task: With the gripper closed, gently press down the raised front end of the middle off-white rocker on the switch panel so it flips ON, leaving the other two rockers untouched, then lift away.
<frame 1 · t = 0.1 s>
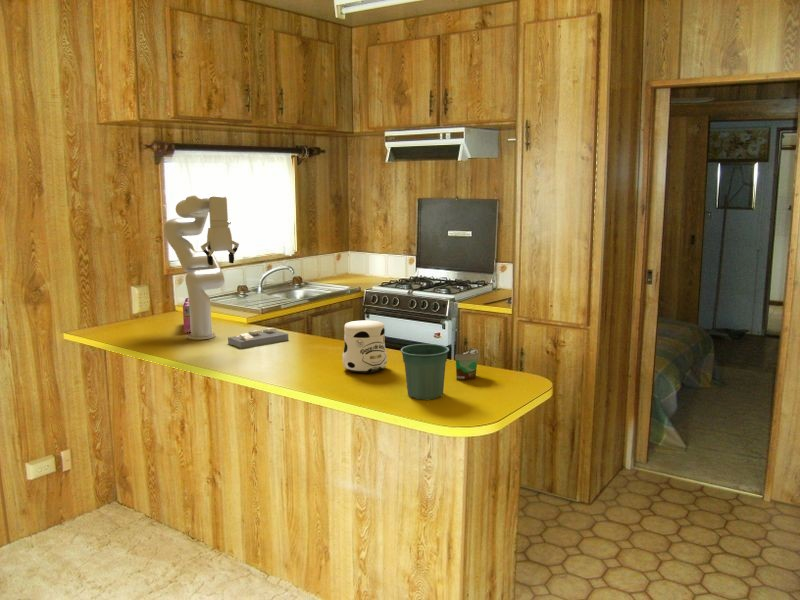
hand: (221, 264, 309), 37 cm above the countertop, tool pointing down, fingers open, 9 cm apart
gum box: (193, 328, 354), on the countertop
rocker far: (269, 329, 329), point 4 cm above the countertop, hinge at -10.0°
rocker near: (246, 336, 315), point 4 cm above the countertop, hinge at 10.0°
switch panel: (258, 342, 322), on the countertop
rocker mid: (255, 332, 324), point 4 cm above the countertop, hinge at -10.0°
flower pot: (424, 395, 243), on the countertop
food container: (469, 378, 263), on the countertop
milk container: (365, 370, 275), on the countertop
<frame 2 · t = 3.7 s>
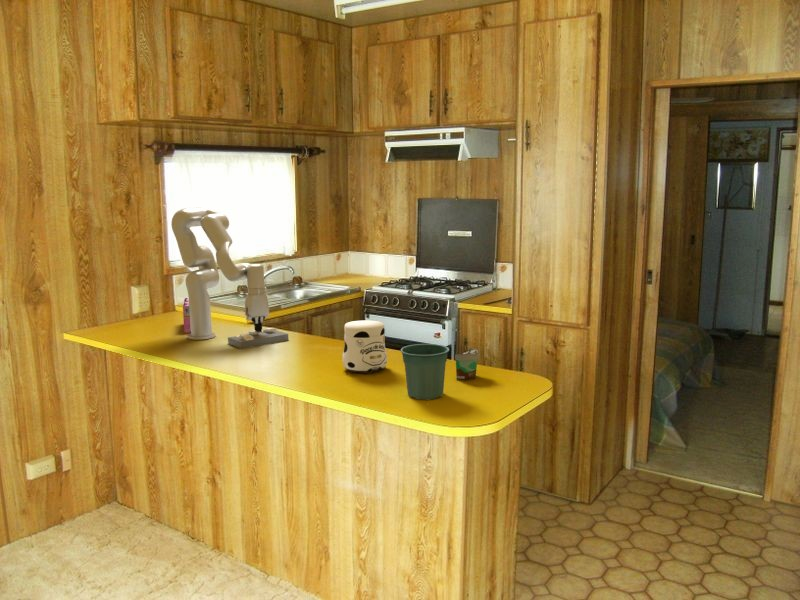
hand: (258, 331, 322), 5 cm above the countertop, tool pointing down, fingers closed
rocker mid: (255, 332, 324), point 4 cm above the countertop, hinge at -9.8°, touching gripper
everything else where it was.
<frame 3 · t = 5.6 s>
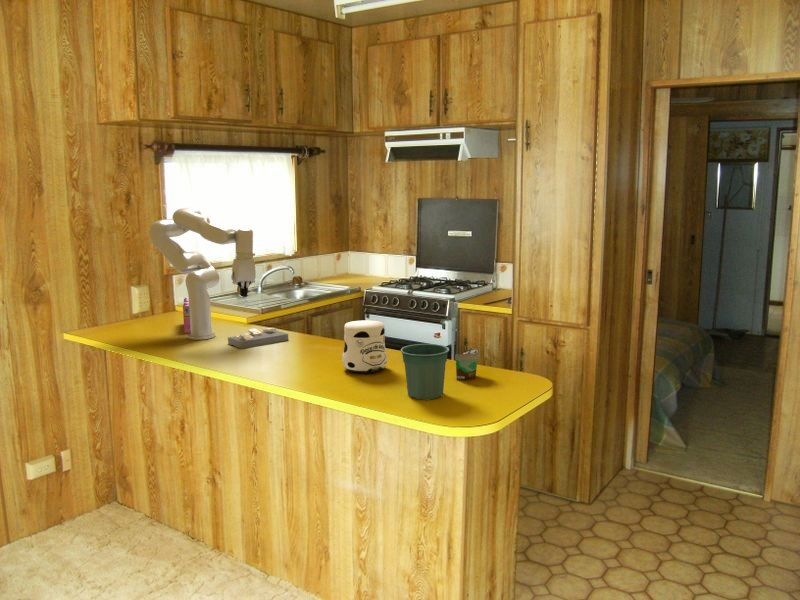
hand: (243, 296, 321), 21 cm above the countertop, tool pointing down, fingers closed
rocker mid: (255, 332, 324), point 4 cm above the countertop, hinge at 11.3°
everything else where it was.
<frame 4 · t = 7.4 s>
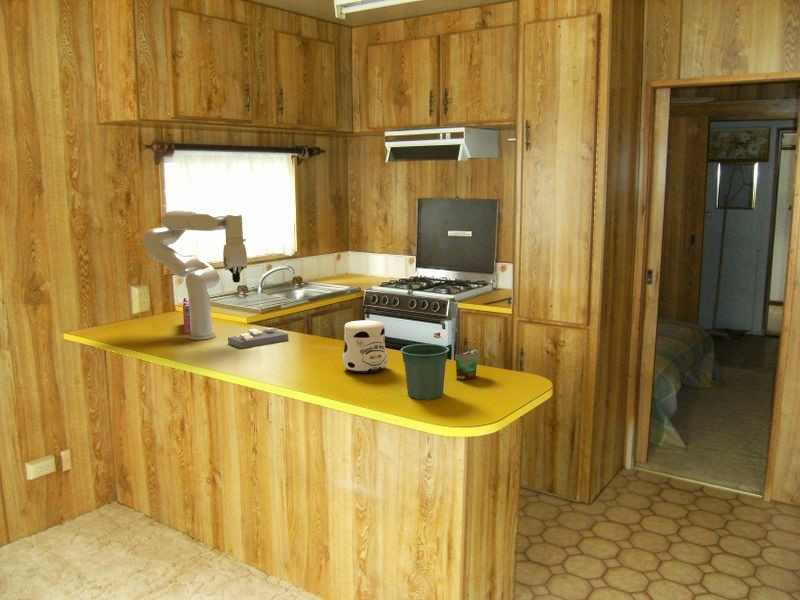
hand: (236, 281, 321), 27 cm above the countertop, tool pointing down, fingers closed
rocker mid: (255, 332, 324), point 4 cm above the countertop, hinge at 8.7°
everything else where it was.
at the end: rocker mid at +9° (first picture: -10°); rocker near at +10° (first picture: +10°); rocker far at -10° (first picture: -10°) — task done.
